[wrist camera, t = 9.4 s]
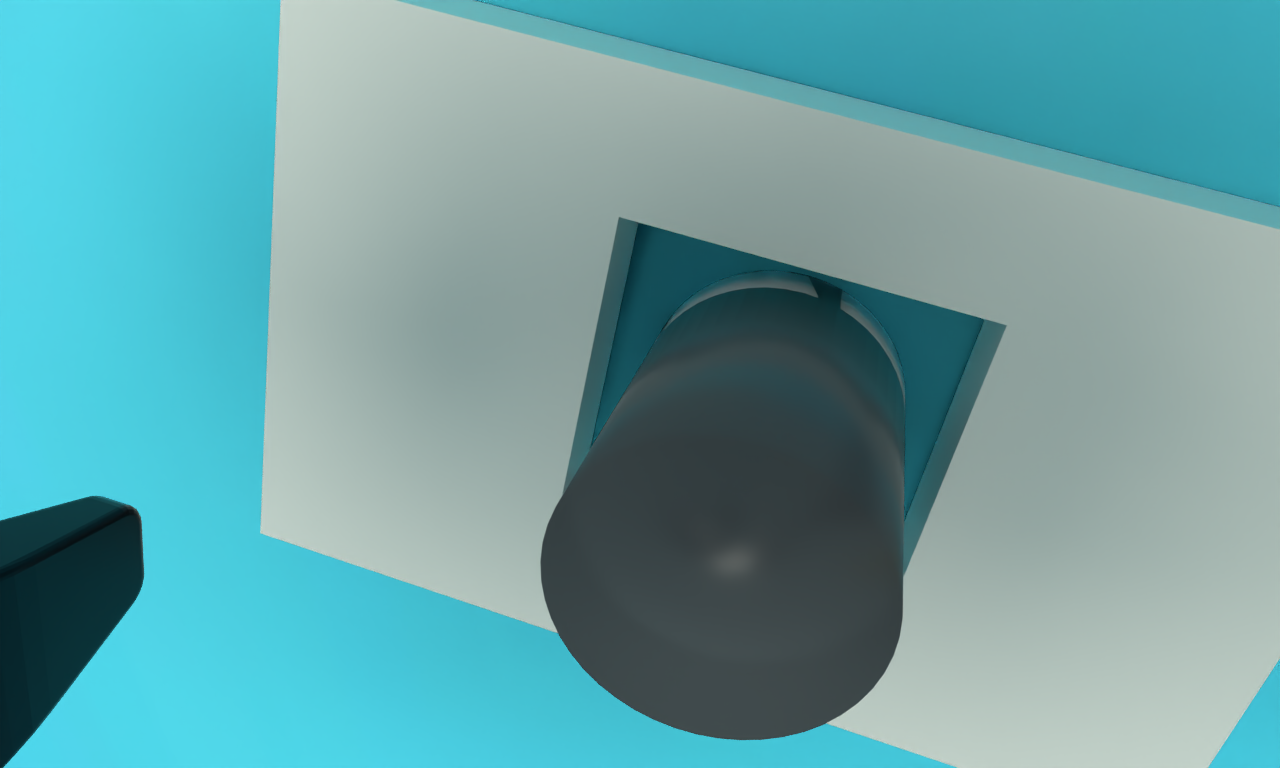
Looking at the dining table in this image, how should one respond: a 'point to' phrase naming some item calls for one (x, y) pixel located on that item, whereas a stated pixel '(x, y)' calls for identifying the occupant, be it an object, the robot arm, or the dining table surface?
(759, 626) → the lens
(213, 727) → the dining table surface
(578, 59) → the panel with square recess
